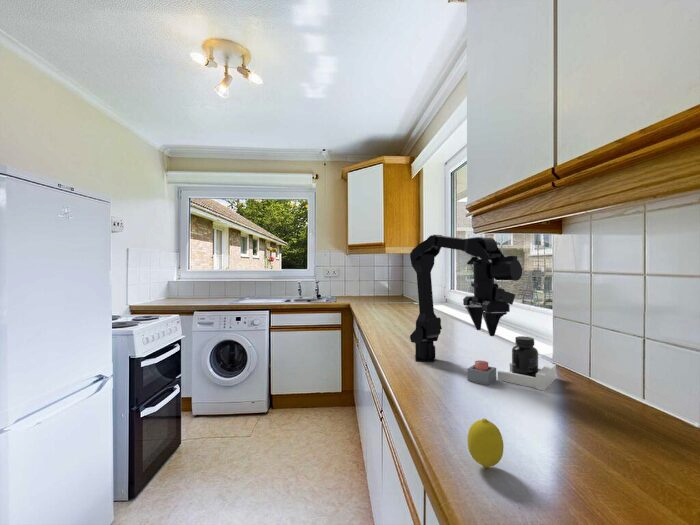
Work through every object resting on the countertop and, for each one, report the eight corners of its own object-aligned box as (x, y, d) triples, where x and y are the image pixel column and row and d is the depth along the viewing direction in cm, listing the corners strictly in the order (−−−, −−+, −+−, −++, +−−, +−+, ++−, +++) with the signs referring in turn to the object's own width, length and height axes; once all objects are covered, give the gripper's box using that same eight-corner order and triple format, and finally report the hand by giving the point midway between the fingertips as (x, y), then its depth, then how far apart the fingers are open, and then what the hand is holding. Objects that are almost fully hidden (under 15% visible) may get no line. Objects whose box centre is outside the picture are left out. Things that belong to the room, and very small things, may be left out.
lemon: (494, 457, 59) (493, 411, 59) (510, 477, 54) (509, 426, 54) (462, 458, 59) (462, 412, 59) (475, 478, 53) (474, 427, 53)
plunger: (473, 374, 98) (472, 362, 98) (478, 371, 101) (478, 359, 101) (485, 377, 96) (485, 364, 96) (490, 374, 99) (490, 362, 99)
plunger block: (467, 380, 98) (467, 368, 98) (475, 375, 103) (475, 363, 103) (488, 385, 94) (488, 372, 94) (496, 379, 99) (496, 367, 99)
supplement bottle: (506, 377, 101) (506, 336, 101) (522, 374, 103) (522, 334, 104) (527, 384, 94) (526, 341, 94) (544, 381, 97) (543, 338, 97)
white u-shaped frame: (496, 380, 98) (496, 366, 98) (511, 370, 107) (511, 357, 108) (544, 390, 90) (544, 375, 90) (556, 378, 99) (555, 364, 99)
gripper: (528, 280, 92) (529, 339, 91) (496, 278, 110) (497, 326, 110) (487, 281, 91) (488, 339, 91) (462, 279, 110) (463, 327, 110)
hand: (485, 332), depth 100 cm, fingers open, 9 cm apart
